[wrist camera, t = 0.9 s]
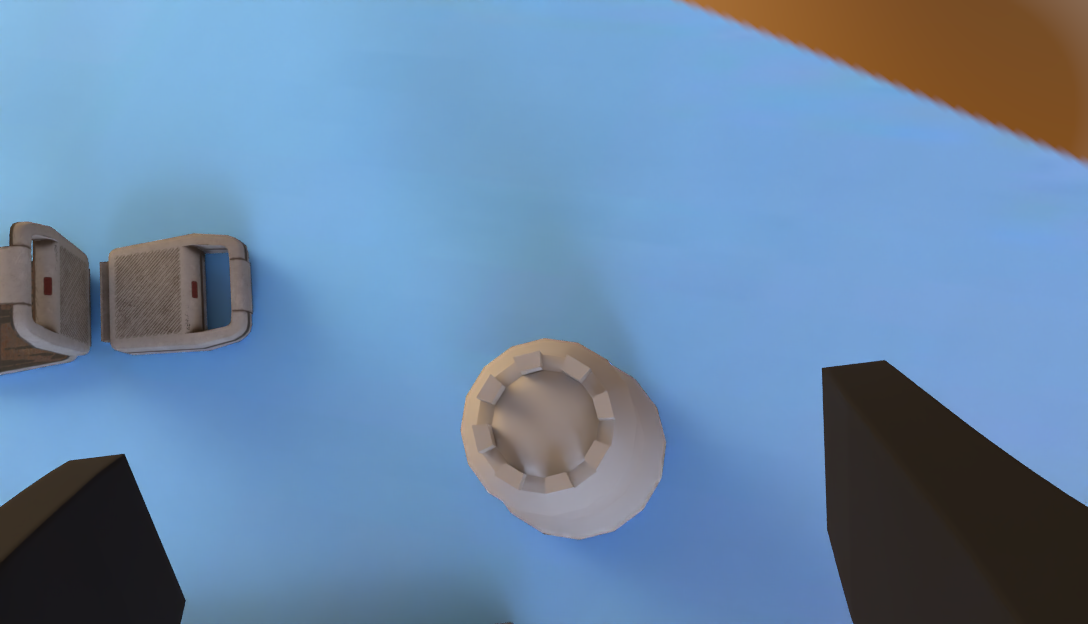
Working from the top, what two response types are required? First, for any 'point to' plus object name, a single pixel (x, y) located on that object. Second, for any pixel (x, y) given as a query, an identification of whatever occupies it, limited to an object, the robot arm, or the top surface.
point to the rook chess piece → (563, 438)
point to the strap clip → (113, 297)
